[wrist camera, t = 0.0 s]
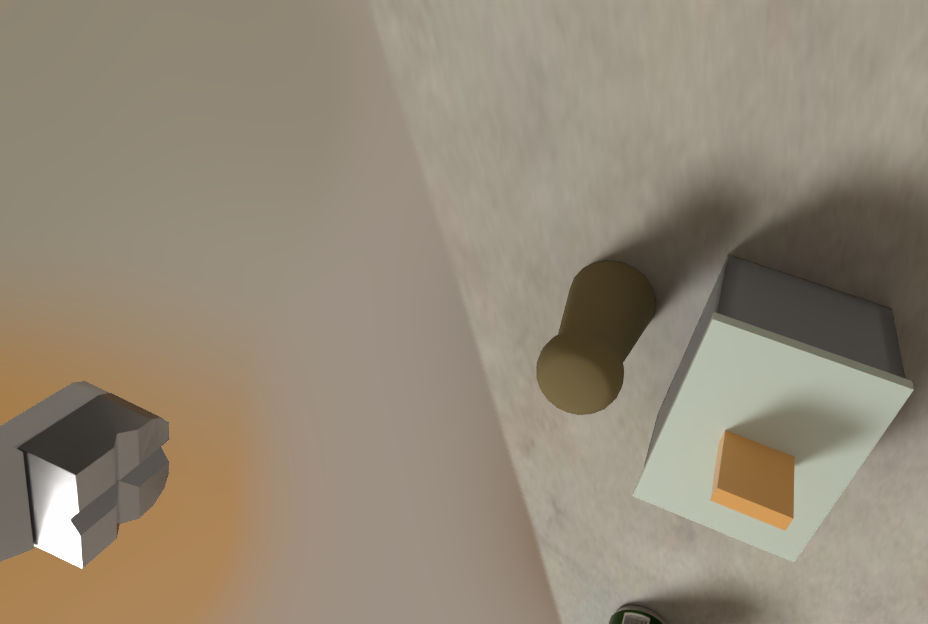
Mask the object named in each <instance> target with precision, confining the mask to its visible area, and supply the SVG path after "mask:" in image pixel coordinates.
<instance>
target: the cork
mask: <svg viewBox="0 0 928 624" xmlns="http://www.w3.org/2000/svg"><path fill="white" fill-rule="evenodd" d="M655 302H656V299H655V295H654V292H653V288H652V286H651V285H650V283H649V282H648V281H647V279H646V278H645V276H643V275H642V274H641V273H640V272H638V271H637V270H636V269H635V268H633V267H631V266H628V265H626V264H624V263H621V262H613V261H602V262H597V263H593V264H591V265H589V266H587V267H585V268H583V269H582V270H581V271H580V272H579V273H578V274H577V275H576V276H575V278H574V280H573V282H572V285H571V287H570V291H569V295H568V298H567V302H566V306H565V310H564V314H563V317H562V321H561V325H560V329H559V333H558V335H556V336H555V337H554V338H552V339H551V340H550V341H549V342H548V343H547V344H546V345H545V346H544V348H543V349H542V351H541V353H540V356H539V358H538V361H537V381H538V383H539V386H540V389H541V391H542V393H543V394H544V395H545V397H546V398H547V399H548V401H549V402H551V403H552V404H553V405H555V406H556V407H557V408H559V409H561V410H563V411H565V412H568V413H572V414H577V415H584V414H592V413H595V412H598V411H601V410H603V409H605V408H606V407H607V406H609V405H610V404H611V403H612V402H613V401H614V400H615V399H616V398H617V396H618V394H619V392H620V390H621V387H622V384H623V377H624V367H623V362H624V360H625V359H626V357H627V356H628V354H629V353H630V351H631V350H632V348H633V347H634V345H635V344H636V342H637V340H638V339H639V337H640V336H641V334H642V333H643V331H644V330H645V328H646V327H647V325H648V324H649V322H650V320H651V318H652V316H653V314H654V312H655Z"/></svg>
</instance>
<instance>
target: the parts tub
mask: <svg viewBox="0 0 928 624" xmlns="http://www.w3.org/2000/svg"><path fill="white" fill-rule="evenodd" d="M714 312H716V313H719V314H721V315H724V316H727V317H730V318H733V319H736V320H739V321H742V322H744V323H747V324H750V325H753V326H756V327H759V328H762V329H765V330H767V331H770V332H773V333H776V334H779V335H782V336H785V337H787V338H790V339H793V340H796V341H799V342H802V343H805V344H808V345H810V346H813V347H816V348H819V349H822V350H825V351H828V352H830V353H833V354H836V355H839V356H842V357H845V358H848V359H851V360H853V361H856V362H859V363H862V364H865V365H868V366H871V367H873V368H876V369H879V370H882V371H885V372H888V373H891V374H894V375H896V376H899V377H902V378H905V374H904V369H903V364H902V359H901V354H900V349H899V344H898V339H897V334H896V329H895V324H894V319H893V314H892V309H891V308H888V307H885V306H882V305H879V304H876V303H873V302H870V301H867V300H864V299H861V298H858V297H855V296H852V295H849V294H846V293H843V292H840V291H837V290H834V289H831V288H827V287H824V286H821V285H818V284H815V283H812V282H809V281H806V280H803V279H800V278H797V277H794V276H791V275H788V274H785V273H782V272H779V271H776V270H773V269H770V268H767V267H764V266H761V265H758V264H755V263H752V262H749V261H746V260H743V259H740V258H737V257H734V256H731V255H728V256H727V259H726V261H725V263H724V265H723V268H722V270H721V272H720V274H719V277H718V279H717V281H716V284H715V286H714V288H713V290H712V293H711V295H710V297H709V299H708V302H707V304H706V306H705V308H704V311H703V313H702V315H701V318H700V320H699V322H698V324H697V327H696V329H695V331H694V333H693V336H692V338H691V340H690V342H689V345H688V347H687V349H686V352H685V354H684V356H683V358H682V361H681V363H680V365H679V367H678V370H677V372H676V374H675V376H674V379H673V381H672V383H671V386H670V388H669V390H668V392H667V395H666V397H665V399H664V401H663V404H662V406H661V408H660V410H659V413H658V415H657V419H656V423H655V427H654V430H653V434H652V438H651V442H650V445H649V449H648V453H647V457H646V461H645V464H646V462H647V459H648V457H649V455H650V453H651V450H652V448H653V446H654V444H655V442H656V439H657V437H658V435H659V433H660V431H661V428H662V426H663V424H664V422H665V420H666V417H667V415H668V413H669V411H670V408H671V406H672V404H673V402H674V400H675V397H676V395H677V393H678V391H679V389H680V386H681V384H682V382H683V380H684V377H685V375H686V373H687V371H688V369H689V366H690V364H691V362H692V360H693V358H694V355H695V353H696V351H697V349H698V346H699V344H700V342H701V340H702V338H703V335H704V333H705V331H706V329H707V327H708V324H709V322H710V320H711V318H712V315H713V313H714ZM645 464H644V466H645Z"/></svg>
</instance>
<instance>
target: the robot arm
mask: <svg viewBox="0 0 928 624" xmlns="http://www.w3.org/2000/svg"><path fill="white" fill-rule="evenodd" d="M168 440H169V422H167V421H165V420H164V419H163V418H161V417H159V416H157V415H155V414H153V413H151V412H149V411H147V410H145V409H143V408H140V407H138V406H136V405H134V404H132V403H130V402H128V401H126V400H124V399H122V398H120V397H118V396H116V395H114V394H112V393H109V392H107V391H104V390H102V389H100V388H98V387H96V386H94V385H92V384H90V383H88V382H85V381H82V382H74V383H71V384H70V385H68V386H66V387H65V388H63V389H62V390H60V391H58V392H56V393H55V394H53V395H51V396H50V397H48V398H46V399H45V400H43V401H41V402H40V403H38V404H37V405H35V406H33V407H31V408H30V409H28V410H26V411H25V412H23V413H22V414H20V415H18V416H16V417H15V418H13V419H11V420H9V421H8V422H6V423H5V424H3V425H1V426H0V561H3V560H5V559H8V558H11V557H13V556H16V555H19V554H21V553H24V552H27V551H29V550H32V549H33V548H34V545H35V546H36V547H39V548H41V549H43V550H45V551H47V552H49V553H51V554H53V555H55V556H57V557H60V558H62V559H64V560H66V561H68V562H70V563H72V564H74V565H76V566H78V567H80V568H83V567H84V566H86V564H88V563H89V562H90V561H91V560H92V559H94V558H95V557H96V556H97V555H98V554H99V553H100V552H101V551H103V550H104V549H105V548H106V547H107V546H108V545H110V544H111V543H112V542H113V541H114V540H115V539H116V538H117V535H118V530H119V524H121V523H124V522H128V521H132V520H135V519H138V518H140V517H141V516H142V515H143V514H144V513H145V512H147V510H149V509H150V508H151V507H152V506H153V505H154V503H155V502H156V500H157V499H158V497H159V496H160V494H161V493H162V491H163V489H164V487H165V484H166V481H167V478H168V474H169V461H168V459H167V458H166V456H165V454H164V452H163V450H162V448H161V446H162V445H163V444H165V443H166V442H167V441H168Z"/></svg>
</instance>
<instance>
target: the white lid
mask: <svg viewBox="0 0 928 624" xmlns="http://www.w3.org/2000/svg"><path fill="white" fill-rule="evenodd" d="M913 390H914V388H913V383H912V381H911V380H908V379H905V378H902V377H899V376H896V375H894V374H891V373H888V372H885V371H882V370H879V369H876V368H873V367H871V366H868V365H865V364H862V363H859V362H856V361H853V360H851V359H848V358H845V357H842V356H839V355H836V354H833V353H830V352H828V351H825V350H822V349H819V348H816V347H813V346H810V345H808V344H805V343H802V342H799V341H796V340H793V339H790V338H787V337H785V336H782V335H779V334H776V333H773V332H770V331H767V330H765V329H762V328H759V327H756V326H753V325H750V324H747V323H744V322H742V321H739V320H736V319H733V318H730V317H727V316H724V315H721V314H719V313H716V312H714V313H713V315H712V318H711V320H710V322H709V324H708V327H707V329H706V331H705V333H704V335H703V338H702V340H701V342H700V344H699V346H698V349H697V351H696V353H695V355H694V358H693V360H692V362H691V364H690V366H689V369H688V371H687V373H686V375H685V377H684V380H683V382H682V384H681V386H680V389H679V391H678V393H677V395H676V397H675V400H674V402H673V404H672V406H671V408H670V411H669V413H668V415H667V417H666V420H665V422H664V424H663V426H662V428H661V431H660V433H659V435H658V437H657V439H656V442H655V444H654V446H653V448H652V450H651V453H650V455H649V457H648V459H647V462H646V464H645V466H644V468H643V470H642V473H641V475H640V477H639V479H638V481H637V484H636V486H635V488H634V492H633V496H634V497H636V498H638V499H641V500H643V501H646V502H648V503H650V504H653V505H655V506H658V507H660V508H663V509H665V510H667V511H670V512H672V513H675V514H677V515H680V516H682V517H684V518H687V519H689V520H692V521H694V522H697V523H699V524H701V525H704V526H706V527H709V528H711V529H714V530H716V531H718V532H721V533H723V534H726V535H728V536H731V537H733V538H735V539H738V540H740V541H743V542H745V543H748V544H750V545H752V546H755V547H757V548H760V549H762V550H765V551H767V552H769V553H772V554H774V555H777V556H779V557H782V558H784V559H786V560H789V561H791V562H795V560H796V559H797V557H798V556H799V554H800V553H801V551H802V550H803V549H804V547H805V546H806V544H807V543H808V541H809V540H810V539H811V537H812V536H813V534H814V533H815V531H816V530H817V528H818V527H819V526H820V524H821V523H822V521H823V520H824V518H825V517H826V516H827V514H828V513H829V511H830V510H831V508H832V507H833V505H834V504H835V503H836V501H837V500H838V498H839V497H840V495H841V494H842V492H843V491H844V490H845V488H846V487H847V485H848V484H849V482H850V481H851V480H852V478H853V477H854V475H855V474H856V472H857V471H858V469H859V468H860V467H861V465H862V464H863V462H864V461H865V459H866V458H867V457H868V455H869V454H870V452H871V451H872V449H873V448H874V446H875V445H876V444H877V442H878V441H879V439H880V438H881V436H882V435H883V433H884V432H885V431H886V429H887V428H888V426H889V425H890V423H891V422H892V421H893V419H894V418H895V416H896V415H897V413H898V412H899V410H900V409H901V408H902V406H903V405H904V403H905V402H906V400H907V399H908V397H909V396H910V395H911V393H912V392H913Z"/></svg>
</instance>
